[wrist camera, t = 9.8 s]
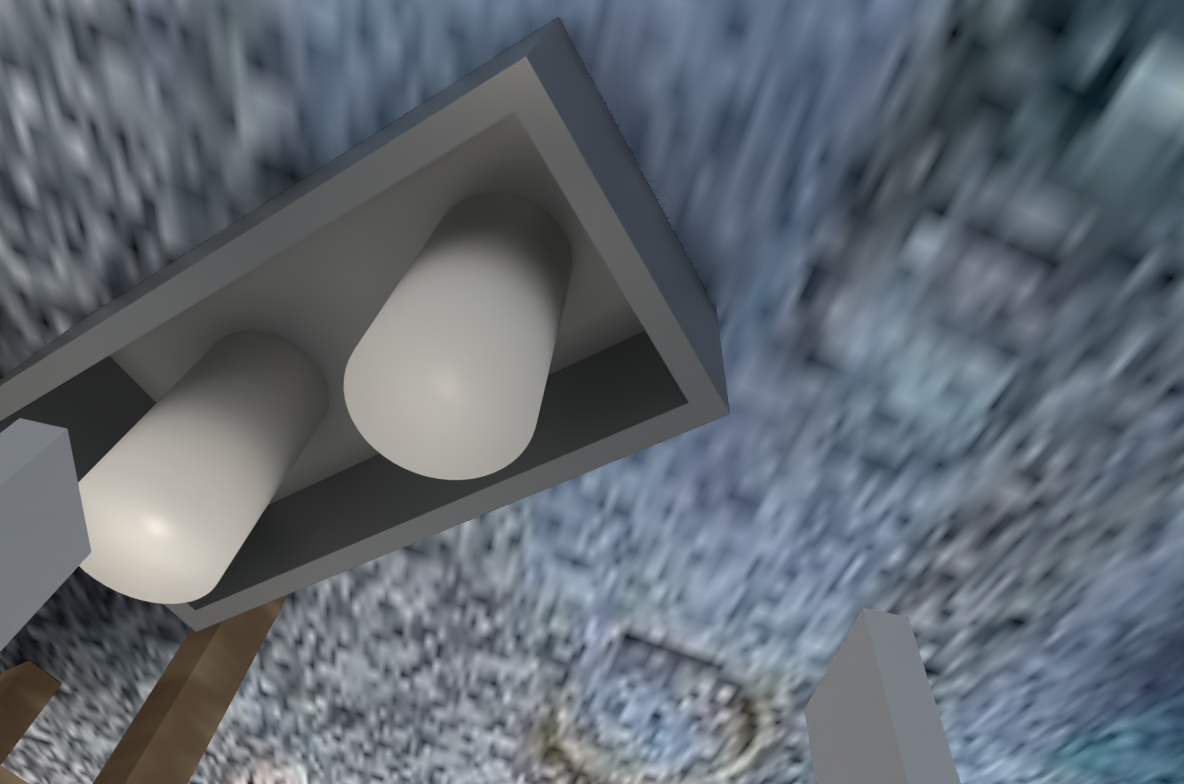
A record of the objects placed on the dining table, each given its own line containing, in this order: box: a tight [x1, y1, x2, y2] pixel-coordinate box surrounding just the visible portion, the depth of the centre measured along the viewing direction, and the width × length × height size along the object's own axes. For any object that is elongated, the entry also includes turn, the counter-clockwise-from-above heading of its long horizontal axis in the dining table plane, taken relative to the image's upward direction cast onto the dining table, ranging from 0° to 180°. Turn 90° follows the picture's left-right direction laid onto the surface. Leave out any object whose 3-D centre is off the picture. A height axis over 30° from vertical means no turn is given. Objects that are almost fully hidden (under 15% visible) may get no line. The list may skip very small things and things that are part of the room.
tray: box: [0, 17, 730, 632], centre depth 23 cm, size 20×10×9 cm, turn 120°
